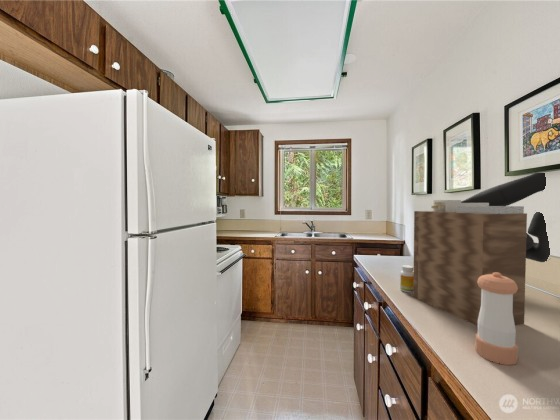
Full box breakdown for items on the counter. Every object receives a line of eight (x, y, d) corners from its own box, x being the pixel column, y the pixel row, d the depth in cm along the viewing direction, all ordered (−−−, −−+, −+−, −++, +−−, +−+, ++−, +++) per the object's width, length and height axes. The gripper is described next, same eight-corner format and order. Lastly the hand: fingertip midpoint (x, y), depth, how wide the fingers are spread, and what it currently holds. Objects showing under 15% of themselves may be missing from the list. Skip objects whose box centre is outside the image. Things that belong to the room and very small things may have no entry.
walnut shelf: (413, 296, 93) (414, 211, 92) (442, 292, 96) (443, 210, 95) (488, 331, 68) (491, 214, 67) (524, 324, 71) (526, 213, 71)
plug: (428, 211, 87) (429, 200, 87) (475, 210, 93) (475, 200, 93) (442, 212, 82) (442, 200, 82) (490, 211, 88) (490, 199, 88)
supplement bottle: (417, 293, 96) (417, 268, 96) (402, 292, 97) (402, 267, 97) (412, 288, 101) (412, 265, 101) (398, 287, 102) (398, 264, 102)
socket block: (456, 212, 78) (456, 206, 78) (482, 212, 81) (482, 205, 81) (494, 214, 68) (494, 206, 68) (523, 213, 71) (523, 206, 71)
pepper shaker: (467, 346, 60) (468, 268, 60) (494, 345, 61) (496, 268, 60) (495, 366, 53) (497, 278, 53) (526, 364, 54) (528, 277, 53)
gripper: (491, 221, 102) (466, 201, 97) (535, 224, 88) (508, 201, 84) (484, 237, 101) (458, 218, 96) (527, 243, 87) (500, 221, 83)
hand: (482, 210), depth 90 cm, fingers open, 8 cm apart
